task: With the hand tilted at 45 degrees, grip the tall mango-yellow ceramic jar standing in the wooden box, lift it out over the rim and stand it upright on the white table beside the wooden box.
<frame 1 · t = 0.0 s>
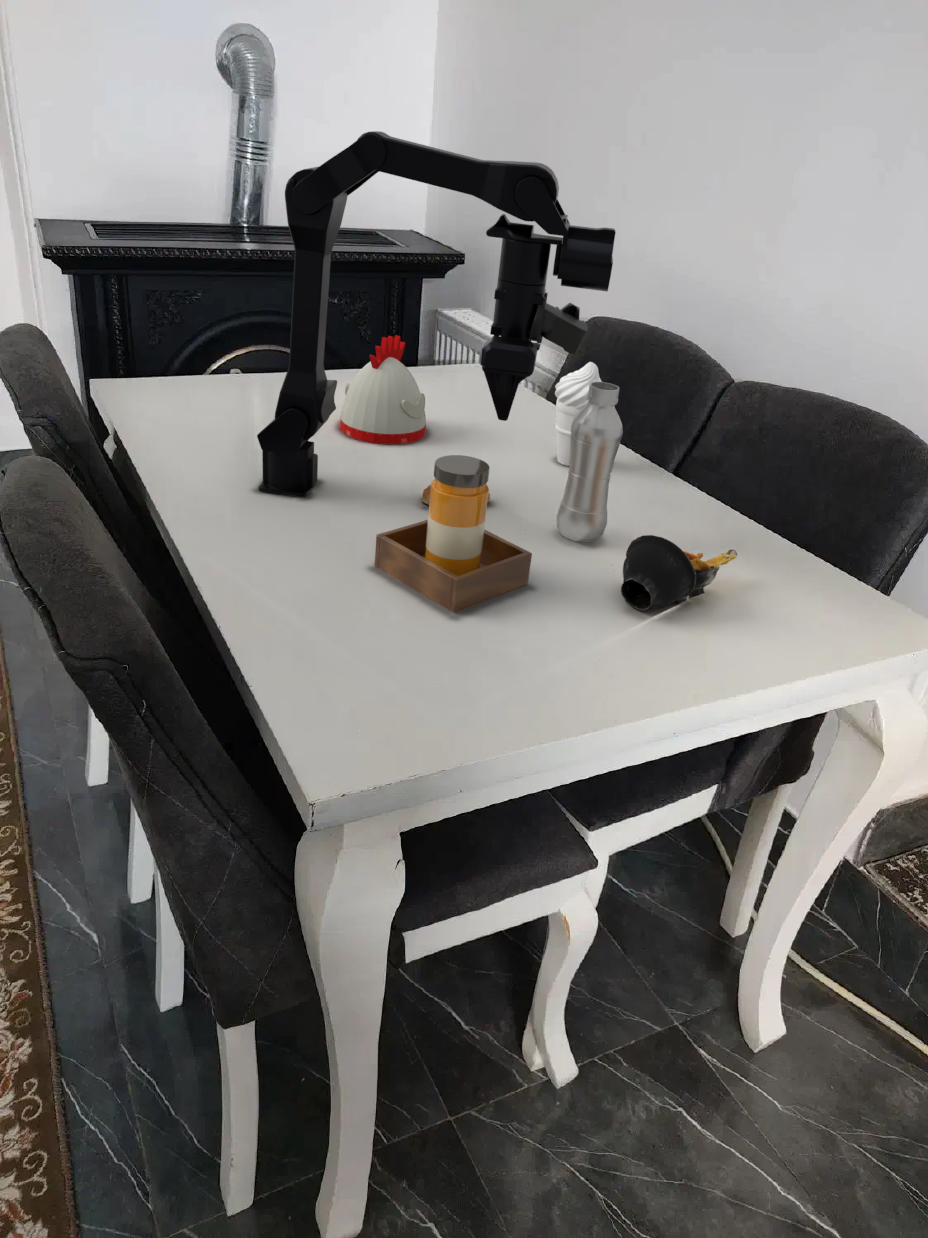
hand: (506, 409, 117), 15 cm above the table, tool pointing down, fingers open, 9 cm apart
silver metal bottle: (578, 538, 121), on the table
kitchen timer: (382, 430, 151), on the table
fried shrimp in bowl: (676, 597, 108), on the table
pastry: (456, 503, 127), on the table
jar: (451, 575, 107), resting on wooden box
wooden box: (450, 578, 107), on the table
ice cream cone: (570, 463, 146), on the table
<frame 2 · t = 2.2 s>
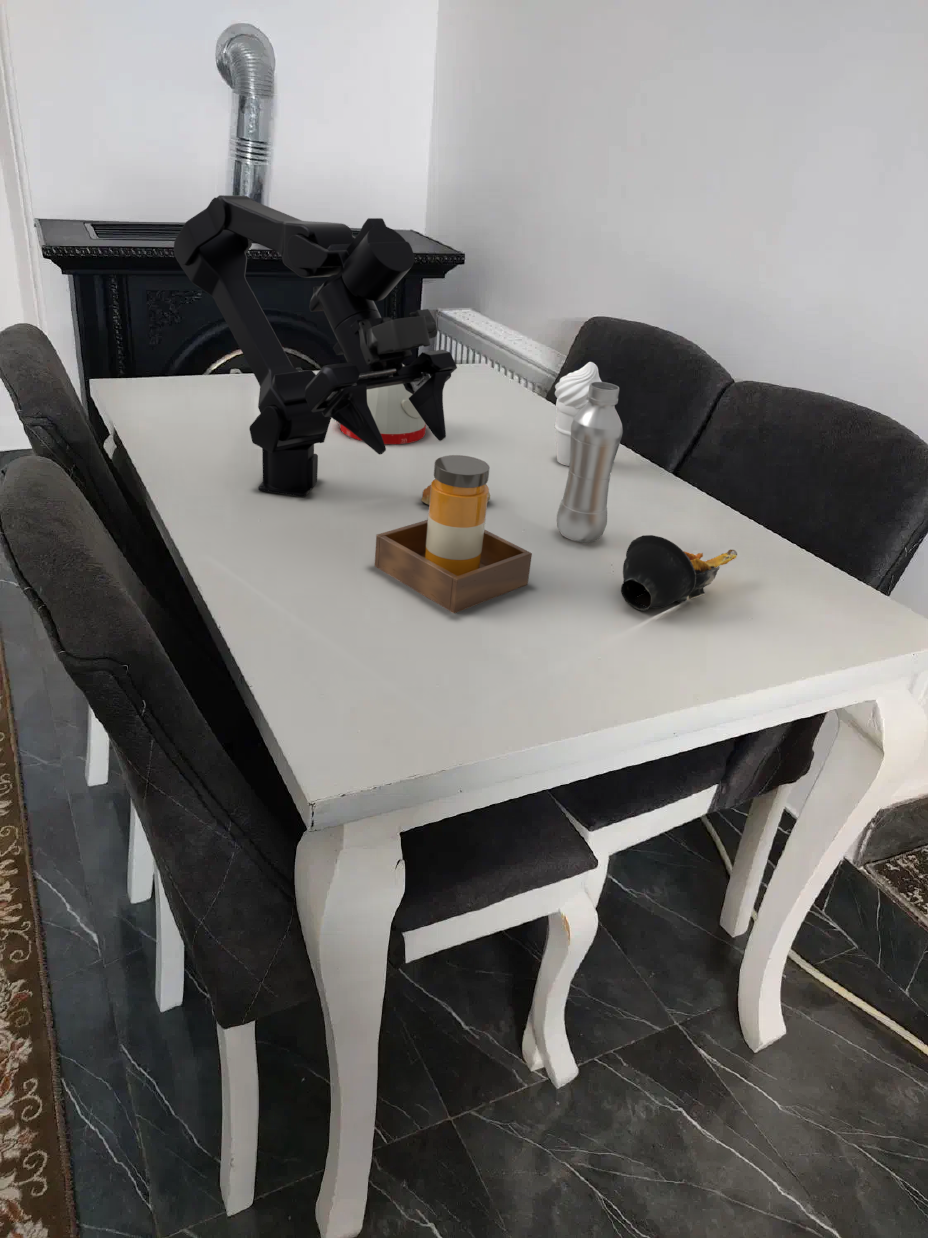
hand: (413, 445, 105), 13 cm above the table, tool tilted 45°, fingers open, 9 cm apart
nothing on the table moved.
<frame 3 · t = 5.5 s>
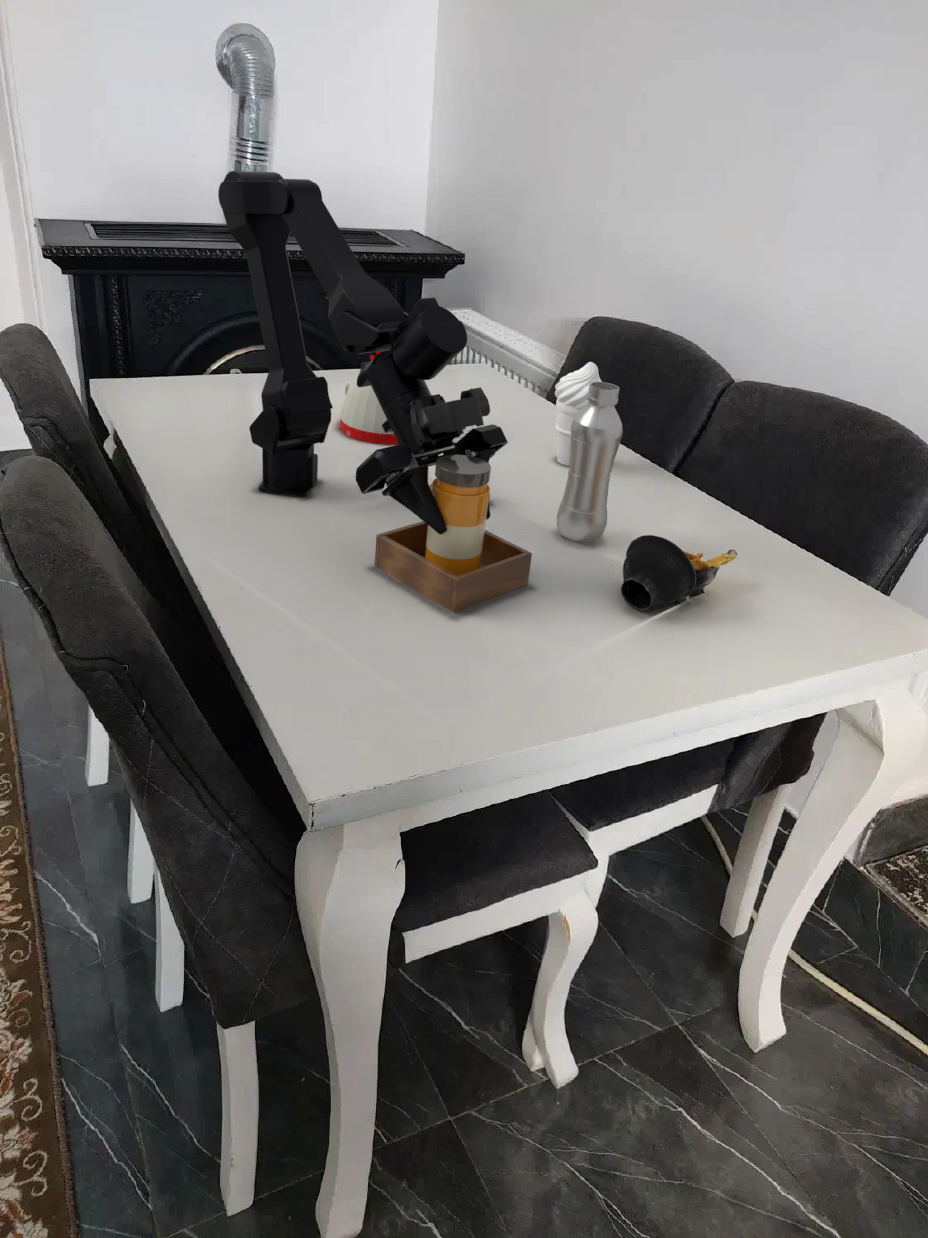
hand: (465, 525, 102), 7 cm above the table, tool tilted 45°, fingers closed on jar, 6 cm apart
jar: (450, 574, 106), resting on wooden box, touching gripper
everything else where it was.
when the fingers open (7 cm above the table, at t = 12.5 s): jar stays where it is, on the table.
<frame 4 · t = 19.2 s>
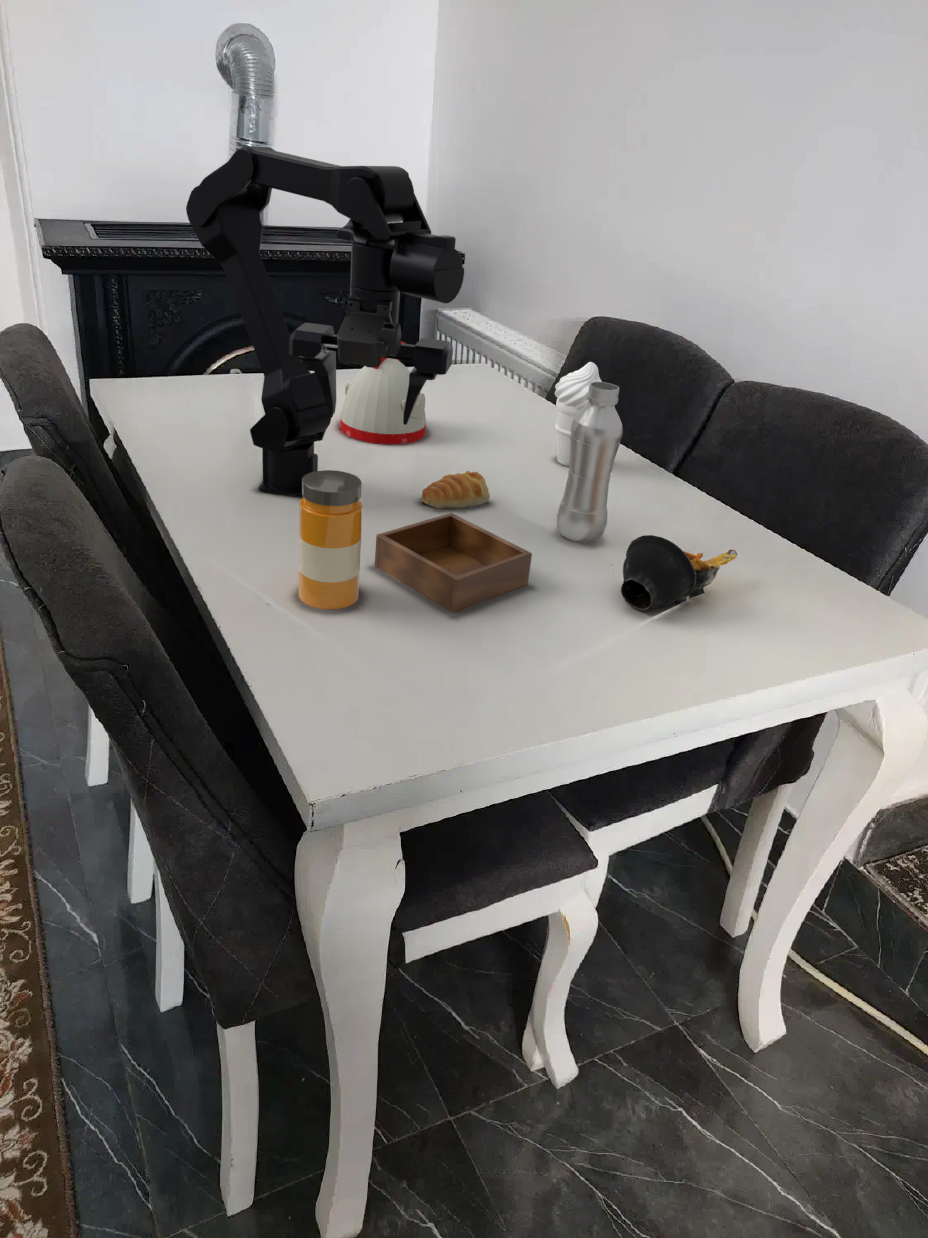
hand: (368, 418, 113), 13 cm above the table, tool pointing down, fingers open, 9 cm apart
jar: (328, 597, 100), on the table
everything else where it was.
at the end: jar inside the target area (0.1 cm from its centre), on the table; jar tilted 0°; the gripper is holding nothing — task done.
